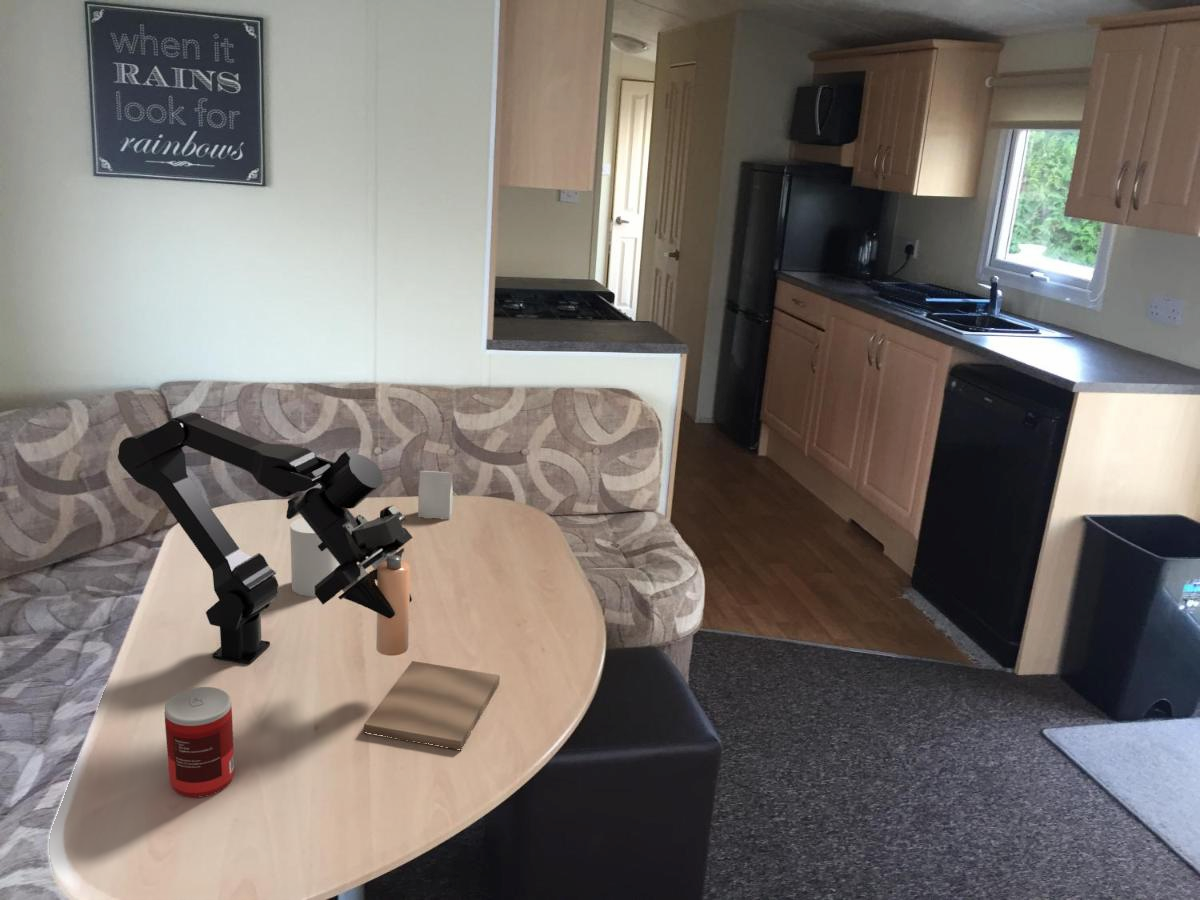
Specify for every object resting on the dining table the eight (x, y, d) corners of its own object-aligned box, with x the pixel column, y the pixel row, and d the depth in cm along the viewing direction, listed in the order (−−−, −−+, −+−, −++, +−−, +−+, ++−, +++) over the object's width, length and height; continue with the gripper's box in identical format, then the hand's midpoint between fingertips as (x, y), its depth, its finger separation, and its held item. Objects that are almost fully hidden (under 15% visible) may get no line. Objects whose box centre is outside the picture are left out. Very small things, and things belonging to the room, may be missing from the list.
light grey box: (449, 519, 214) (450, 475, 211) (418, 517, 214) (418, 473, 211) (452, 513, 217) (453, 470, 214) (421, 511, 217) (421, 468, 214)
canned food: (213, 753, 131) (209, 679, 127) (247, 779, 126) (244, 703, 123) (157, 778, 125) (151, 702, 122) (190, 807, 120) (185, 728, 117)
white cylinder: (345, 579, 183) (344, 518, 179) (329, 598, 175) (328, 535, 171) (302, 574, 183) (300, 513, 180) (284, 593, 176) (282, 530, 172)
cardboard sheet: (461, 750, 135) (461, 741, 134) (363, 733, 137) (363, 724, 137) (499, 683, 152) (499, 675, 151) (412, 669, 154) (412, 660, 153)
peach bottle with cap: (392, 658, 143) (394, 567, 139) (369, 648, 146) (370, 558, 141) (414, 646, 147) (417, 557, 143) (392, 637, 149) (393, 548, 145)
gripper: (333, 516, 132) (406, 609, 132) (402, 475, 149) (466, 557, 149) (283, 559, 136) (353, 648, 137) (355, 514, 153) (417, 594, 154)
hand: (401, 609), depth 144 cm, fingers closed on peach bottle with cap, 5 cm apart
